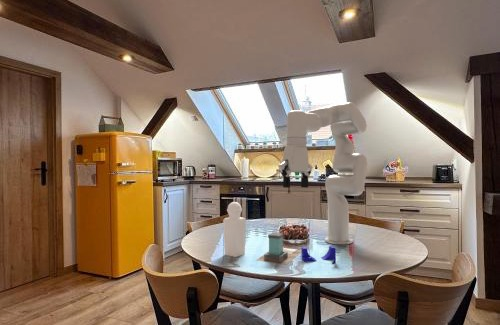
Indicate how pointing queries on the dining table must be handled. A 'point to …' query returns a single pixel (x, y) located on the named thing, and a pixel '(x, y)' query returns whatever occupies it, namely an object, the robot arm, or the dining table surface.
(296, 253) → the board
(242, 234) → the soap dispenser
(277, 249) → the plug
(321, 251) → the dining table surface
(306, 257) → the cable clip
